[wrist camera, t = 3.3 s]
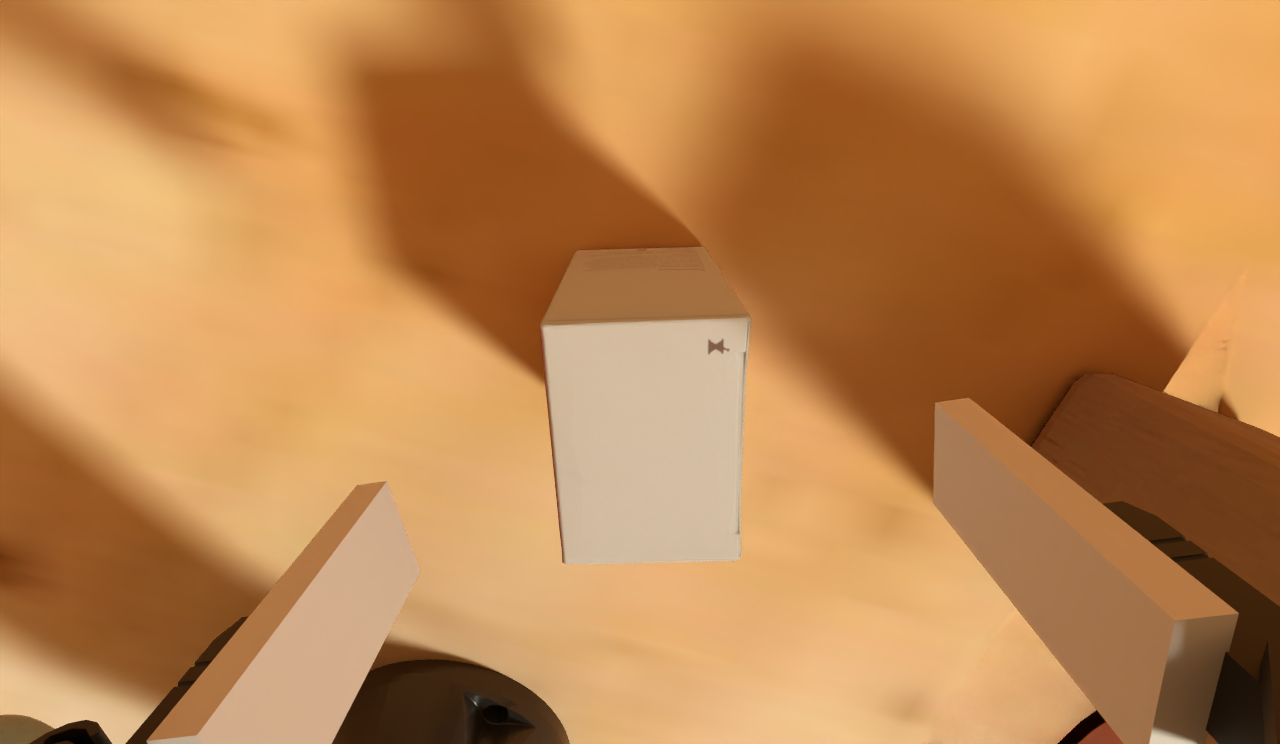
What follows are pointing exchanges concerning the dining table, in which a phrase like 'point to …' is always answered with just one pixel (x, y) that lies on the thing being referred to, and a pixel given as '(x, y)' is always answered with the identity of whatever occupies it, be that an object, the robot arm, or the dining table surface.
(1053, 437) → the block
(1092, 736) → the ceramic vessels
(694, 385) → the small box
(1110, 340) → the dining table surface
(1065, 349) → the dining table surface
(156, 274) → the dining table surface
